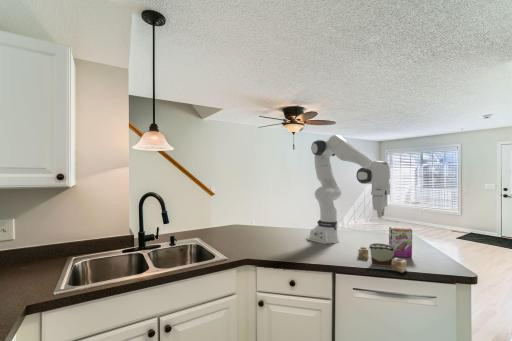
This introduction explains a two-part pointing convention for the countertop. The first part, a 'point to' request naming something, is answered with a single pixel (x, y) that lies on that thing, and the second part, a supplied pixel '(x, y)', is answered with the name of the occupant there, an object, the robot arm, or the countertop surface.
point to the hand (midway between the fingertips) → (380, 216)
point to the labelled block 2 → (399, 265)
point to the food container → (381, 254)
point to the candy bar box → (401, 241)
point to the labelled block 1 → (363, 252)
